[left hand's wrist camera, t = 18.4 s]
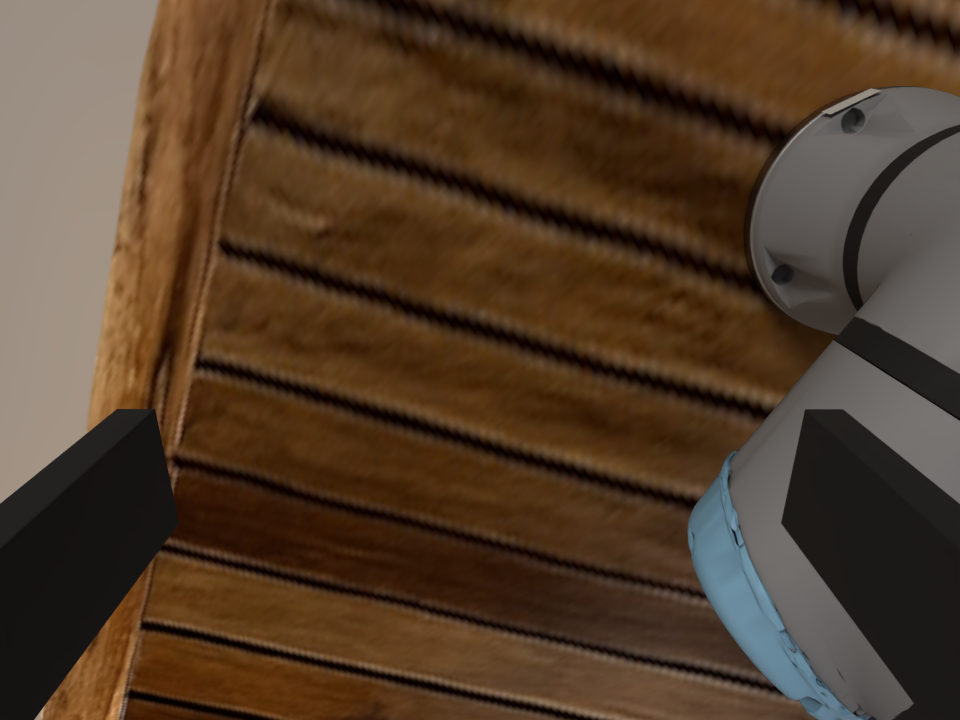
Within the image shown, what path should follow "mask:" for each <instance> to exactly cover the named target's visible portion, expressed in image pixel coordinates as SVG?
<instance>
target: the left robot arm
mask: <svg viewBox="0 0 960 720" xmlns="http://www.w3.org/2000/svg"><path fill="white" fill-rule="evenodd" d="M744 244H745V252H746V257H747V261H748V265H749V267H750V270H751V273H752V275H753V277H754V279H755V281H756V283H757V285H758V286H759V288H760V289H761V291H762V292H763V294H764V295H765V296H766V297H767V298H768V299H769V300H770V301H771V302H772V303H773V304H774V305H775V306H776V307H777V308H779V309H780V310H781V311H783V312H784V313H785V314H787V315H789V316H790V317H792V318H793V319H795V320H797V321H798V322H800V323H802V324H804V325H807V326H809V327H811V328H814V329H817V330H821V331H824V332H827V333H831V334H836V335H838V336H837V337H836V338H835V339H834V340H835V341H836V342H835V341H834V340H833V341H832V342H831V343H830V344H829V346H828V347H827V348H826V349H825V350H824V351H823V353H822V354H821V355H820V356H819V357H818V358H817V360H816V361H815V362H814V363H813V364H812V365H811V367H810V368H809V369H808V370H807V371H806V372H805V374H804V375H803V376H802V377H801V378H800V379H799V381H798V382H797V383H796V384H795V385H794V386H793V388H792V389H791V390H790V391H789V392H788V393H787V395H786V396H785V397H784V398H783V399H782V400H781V402H780V403H779V404H778V405H777V406H776V407H775V409H774V410H773V411H772V412H771V413H770V414H769V416H768V417H767V418H766V419H765V420H764V421H763V423H762V424H761V425H760V426H759V427H758V428H757V430H756V431H755V432H754V433H753V434H752V435H751V437H750V438H749V439H748V440H747V441H746V442H745V444H744V445H743V446H742V447H741V448H740V449H739V451H733V452H732V453H731V454H730V455H729V456H728V457H727V458H726V460H725V461H724V463H723V466H722V470H721V472H720V473H719V475H718V476H717V477H716V479H715V480H714V481H713V483H712V484H711V485H710V487H709V488H708V489H707V491H706V492H705V493H704V495H703V496H702V497H701V499H700V500H699V501H698V503H697V504H696V505H695V507H694V509H693V511H692V513H691V515H690V519H689V523H688V530H687V532H688V545H689V549H690V551H691V559H692V563H693V567H694V570H695V572H696V575H697V577H698V579H699V582H700V584H701V586H702V588H703V590H704V592H705V594H706V596H707V598H708V600H709V602H710V603H711V605H712V607H713V609H714V610H715V612H716V614H717V615H718V617H719V618H720V620H721V621H722V623H723V624H724V626H725V627H726V629H727V630H728V631H729V633H730V634H731V636H732V637H733V638H734V640H735V641H736V642H737V644H738V645H739V646H740V648H741V649H742V650H743V651H744V653H745V654H746V655H747V656H748V657H749V659H750V660H751V661H752V662H753V663H754V665H755V666H756V667H757V668H758V669H759V670H760V671H761V672H762V673H763V674H764V676H765V677H766V678H767V679H768V680H769V681H770V682H771V683H772V684H774V685H775V686H776V687H777V688H778V689H779V690H780V691H781V692H782V693H783V694H784V695H786V696H787V697H788V698H789V699H791V700H799V701H800V702H801V704H802V705H803V707H804V708H805V710H806V711H807V712H808V714H810V715H811V716H813V717H815V718H816V719H818V720H960V98H959V97H957V96H955V95H952V94H949V93H946V92H942V91H939V90H934V89H929V88H923V87H915V86H895V87H882V88H873V89H868V90H863V91H859V92H856V93H852V94H849V95H847V96H844V97H842V98H839V99H837V100H835V101H833V102H831V103H829V104H827V105H825V106H823V107H822V108H820V109H818V110H817V111H815V112H813V113H812V114H811V115H809V116H808V117H807V118H805V119H804V120H803V121H801V122H800V123H799V124H798V125H797V126H796V127H795V128H793V129H792V130H791V131H790V132H789V133H788V134H787V135H786V137H785V138H784V139H783V140H782V141H781V142H780V143H779V145H778V146H777V147H776V148H775V149H774V151H773V152H772V154H771V155H770V157H769V158H768V159H767V161H766V163H765V164H764V166H763V168H762V170H761V171H760V173H759V175H758V177H757V180H756V182H755V184H754V186H753V189H752V192H751V195H750V198H749V202H748V205H747V210H746V216H745V225H744ZM843 346H844V347H843ZM846 348H847V349H846ZM848 349H849V350H848ZM850 350H851V351H852V352H851V351H850ZM853 352H854V353H855V354H854V353H853ZM856 354H857V355H856ZM858 355H859V356H860V357H859V356H858ZM861 357H862V358H863V359H862V358H861ZM864 359H865V360H866V361H865V360H864ZM867 361H868V362H867ZM870 363H871V364H870ZM873 365H874V366H873ZM875 366H876V367H877V368H876V367H875ZM878 368H879V369H880V370H879V369H878ZM881 370H882V371H881ZM884 372H885V373H884ZM887 374H888V375H887ZM890 376H891V377H890ZM892 377H893V378H892ZM895 379H896V380H895ZM898 381H899V382H898ZM900 382H901V383H902V384H901V383H900ZM903 384H904V385H903ZM906 386H907V387H906ZM909 388H910V389H909ZM912 390H913V391H912ZM915 392H916V393H915ZM926 399H927V400H926ZM931 402H932V403H931ZM934 404H935V405H934ZM937 406H938V407H937ZM939 407H940V408H941V409H940V408H939ZM942 409H943V410H942ZM945 411H946V412H945ZM948 413H949V414H948ZM951 415H952V416H951ZM954 417H955V418H954ZM178 524H179V521H178V516H177V511H176V506H175V502H174V497H173V492H172V487H171V483H170V478H169V473H168V469H167V464H166V459H165V454H164V450H163V445H162V440H161V435H160V431H159V426H158V421H157V416H156V412H155V409H117V410H115V411H114V412H113V413H112V414H110V415H109V416H108V417H107V418H106V419H104V420H103V421H102V422H101V423H99V424H98V425H97V426H96V427H94V428H93V429H92V430H91V431H89V432H88V433H87V434H86V435H85V436H83V437H82V438H81V439H80V440H78V441H77V442H76V443H75V444H73V445H72V446H71V447H70V448H69V449H67V450H66V451H65V452H64V453H62V454H61V455H60V456H59V457H57V458H56V459H55V460H54V461H52V462H51V463H50V464H49V465H48V466H46V467H45V468H44V469H43V470H41V471H40V472H39V473H38V474H36V475H35V476H34V477H33V478H32V479H30V480H29V481H28V482H27V483H25V484H24V485H23V486H22V487H20V488H19V489H18V490H17V491H15V492H14V493H13V494H12V495H10V496H9V497H8V498H7V499H6V500H4V501H3V502H2V503H1V504H0V720H34V719H35V718H36V716H37V715H38V714H39V712H40V711H41V710H42V708H43V707H44V706H45V704H46V703H47V702H48V700H49V699H50V697H51V696H52V695H53V693H54V692H55V691H56V689H57V688H58V687H59V685H60V684H61V683H62V681H63V680H64V679H65V677H66V676H67V674H68V673H69V672H70V670H71V669H72V668H73V666H74V665H75V664H76V662H77V661H78V660H79V658H80V657H81V655H82V654H83V653H84V651H85V650H86V649H87V647H88V646H89V645H90V643H91V642H92V641H93V639H94V638H95V636H96V635H97V634H98V632H99V631H100V630H101V628H102V627H103V626H104V624H105V623H106V622H107V620H108V619H109V618H110V616H111V615H112V613H113V612H114V611H115V609H116V608H117V607H118V605H119V604H120V603H121V601H122V600H123V599H124V597H125V596H126V594H127V593H128V592H129V590H130V589H131V588H132V586H133V585H134V584H135V582H136V581H137V580H138V578H139V577H140V575H141V574H142V573H143V571H144V570H145V569H146V567H147V566H148V565H149V563H150V562H151V561H152V559H153V558H154V557H155V555H156V554H157V552H158V551H159V550H160V548H161V547H162V546H163V544H164V543H165V542H166V540H167V539H168V538H169V536H170V535H171V533H172V532H173V531H174V529H175V528H176V527H177V525H178Z"/></svg>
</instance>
